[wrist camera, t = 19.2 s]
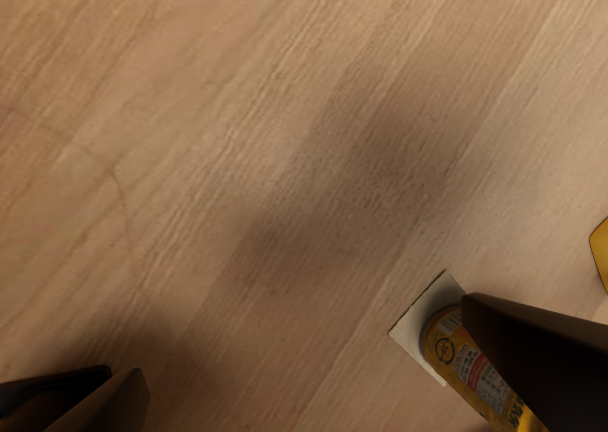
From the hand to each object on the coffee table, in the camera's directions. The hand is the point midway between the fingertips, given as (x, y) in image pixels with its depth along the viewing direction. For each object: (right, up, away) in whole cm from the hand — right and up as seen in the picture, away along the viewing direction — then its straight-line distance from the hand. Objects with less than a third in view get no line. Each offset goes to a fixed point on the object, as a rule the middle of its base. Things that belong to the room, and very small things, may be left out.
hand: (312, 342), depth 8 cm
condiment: (+12, -7, +18) cm, 22 cm away
